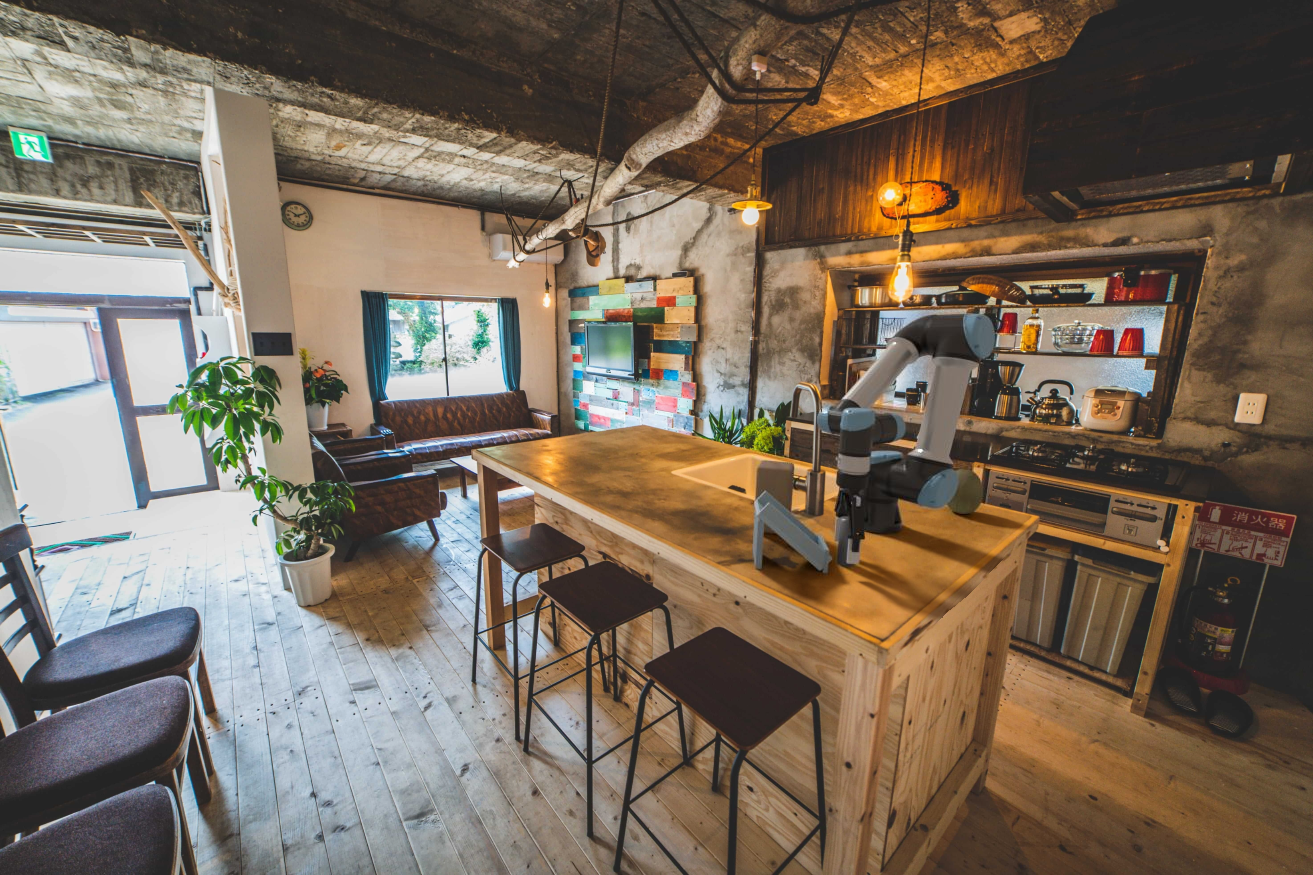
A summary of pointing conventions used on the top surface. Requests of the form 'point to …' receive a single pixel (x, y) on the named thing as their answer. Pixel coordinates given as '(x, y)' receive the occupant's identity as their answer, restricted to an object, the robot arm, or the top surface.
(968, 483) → the fruit
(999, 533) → the top surface
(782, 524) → the chute
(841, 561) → the peg
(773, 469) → the wooden block
